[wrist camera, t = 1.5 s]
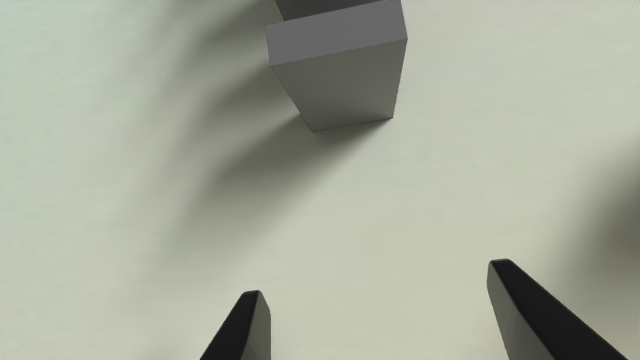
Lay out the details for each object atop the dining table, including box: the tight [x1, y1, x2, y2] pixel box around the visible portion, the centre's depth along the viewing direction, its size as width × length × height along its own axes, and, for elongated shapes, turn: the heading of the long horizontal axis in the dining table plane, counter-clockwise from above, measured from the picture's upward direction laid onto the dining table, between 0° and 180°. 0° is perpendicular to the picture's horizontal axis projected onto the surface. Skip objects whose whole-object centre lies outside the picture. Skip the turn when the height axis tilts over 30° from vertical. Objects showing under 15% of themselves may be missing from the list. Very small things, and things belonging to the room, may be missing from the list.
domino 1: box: [265, 0, 408, 132], centre depth 19 cm, size 2×5×10 cm, turn 98°
